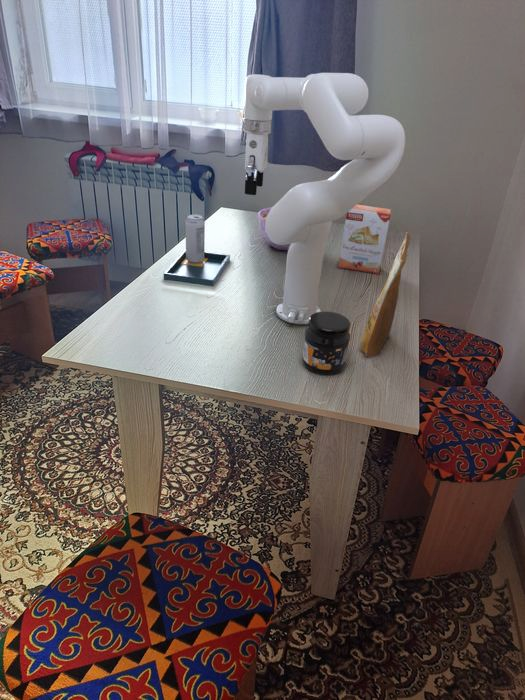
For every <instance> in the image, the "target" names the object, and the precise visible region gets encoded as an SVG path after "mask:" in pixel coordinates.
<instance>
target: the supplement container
mask: <svg viewBox="0 0 525 700" xmlns="http://www.w3.org/2000/svg"><path fill="white" fill-rule="evenodd" d="M350 328H351V321H350V320H349V318H347V317H346V316H345V315H343V314H341V313H339V312H335V311H329V310H327V311H325V310H324V311H321V312H317V313H314V314H312V315H311V316H310V318H309V323H308V324H307V327H306V328H305V331H304V344H303V352H302V357H301V360H302V363H303V365H304V367H305V368H306V369H308V370H309V371H312V372H313V373H316V374H320V375H333V374H337V373H339V372H341V371H343V369H344V368H345V367H346V365H347V364H346V363H347V355H348V349H349V345H350V344H349V343H350V341H351V333H350Z"/></svg>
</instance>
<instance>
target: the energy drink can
mask: <svg viewBox="0 0 525 700" xmlns="http://www.w3.org/2000/svg"><path fill="white" fill-rule="evenodd" d="M186 217H187V218H186V219H185V249H186V260H188V262H189V263H191V264H200V263H202V262H203V260H204V252H205V240H206V239H205V231H206V230H205V229H206V228H205V225H206V222H205V220H204V218H203V215H201V214H196V213H195V214H188V215H187V216H186Z"/></svg>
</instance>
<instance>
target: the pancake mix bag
mask: <svg viewBox="0 0 525 700" xmlns="http://www.w3.org/2000/svg"><path fill="white" fill-rule="evenodd" d="M410 242H411V236H410V233H409V231H406V232H405V236H404V239H403V241H402V244H401V245H400V247H399V249H398V252H397V254H396V256H395V258H394V261H393V264H392V266H391V268H390V272H389V274H388V277H387V279H386V282H385V284H384V286H383V288H382V290H381V293H380V294H379V296H378V298H377V300H376V302H375V304H374V306H373V308H372V310H371V312H370V315H369V317H368V319H367V323H366V325H365V329H364V333H363V336H362V340H361V347H360V351H361V352H362V353H364V354H365V357H372V356H377V355H378V354H380V353H381V351H382V349H383V347H384V345H385V344H386V342H387V340H388V337H389V335H390V333H391V329H392V327H393V322H394V318H395V314H396V310H397V304H398V299H399V291H400V290H399V287H400V283H401V278H402V270H403V268H404V266H405V264H406V262H407V258H408V250H409V249H408V248H409V247H410V246H409V245H410Z"/></svg>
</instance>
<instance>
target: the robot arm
mask: <svg viewBox="0 0 525 700" xmlns="http://www.w3.org/2000/svg"><path fill="white" fill-rule="evenodd" d="M368 99H369V87H368V85H367V82H365V80H364V78H362V77H360V76H359V75H358V74H354V73H350V72H318V73H310V74H308V75H306V77H293V76H290V77H289V76H275V77H274V76H271V75H267V74H257V73H256V74H249V75H247V76H246V77H245V81H244V102H243V105H244V107H243V125H242V126H243V129H242V132H244V133H246V137H245V138H246V139H245V151H244V152H245V153H244V170H245V171H246V173H245V178H244V194H245V195H248V196H249V195H250V196H256V195H257V191H258V190H257V189H258V187H260V188H261V187H263V183H264V170H265V169H266V168H267V166H268V161H269V160H268V155H269V154H268V153H269V135H270V134H271V133H272V124H273V123H272V121H273V120H272V119H273V112H274V111H303V112H305V113H306V115H307V117H308V120H309V121H310V123H311V125H312V126H313V128H314V129H315V131H316V133H317V134H318V136H319V138H320V140H321V142H322V144H323V145H324V147H325V149H326V150H327V152H328V153H329V154H330V155H331V156H332V157H333V158H335V159H337V160H341V161H349V162H347V163H346V164H344V165H343V166H342V167H340V169H339V170H338V171H336V173H335V174H333V175H332V176H330V177H329V178H327V179H323V180H317V181H307V182H302V183H300V184H296V185H295V186H292V188H290V189H289V190H288V191H287V192H286V193H285V194H284V195H283V196H282V197H281V198H280V199H279V200H278V201H277V202H275V204H274V205H273V206H272V207H273V208H272V207H271V208H272V209H271V210H270V212H269V213H268V215H267V218H266V222H265V230H266V234H267V236H268V238H269V239H270V240H271V241H272V242H273V243H275V244H278V245H287V244H291V245H290V247H289V250H287V255H286V264H285V275H284V284H283V285H284V286H283V296H282V303H280V304H278V305H277V307H276V310H275V312H276V315H277V317H279V319H280V320H282V321H284V322H286V323H290V324H293V325H308V323H309V318H310V316H311V315H312V314H314V313H317V312H322V311H321V309H320V308H319V307H318V298H319V292H320V291H319V290H320V285H321V284H320V283H321V277H322V276H321V275H322V268H323V263H324V256H325V255H324V254H325V250H326V244H327V241H328V238H329V235H330V233H331V229H332V225H333V222H334V221H338V220H339V219H341V218H342V217H344V216H346V214H347V212H348V211H350V210H351V209H352V208H353V207H355V206H356V205H359V203H361V202H362V201H363V200H364V199H365V198H367V197H368V196H369V195H370V194H372V193H373V192H375V190H377V189H378V188H379V187H381V186H382V185H383V184H384V183H386V182H387V181H388V179H390V178H391V176H392V175H393V174H394V173H395V171H396V170H397V168H398V167H399V165H400V163H401V161H402V158H403V155H404V151H405V147H406V133H405V129H404V127H403V125H402V123H401V122H400V121H399V120H397V118H394V117H392V116H391V115H390V116H389V115H386V114H358V113H360V112H361V111H362V110H363V109H364V108H365V106H366V104H367V102H368Z"/></svg>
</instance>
